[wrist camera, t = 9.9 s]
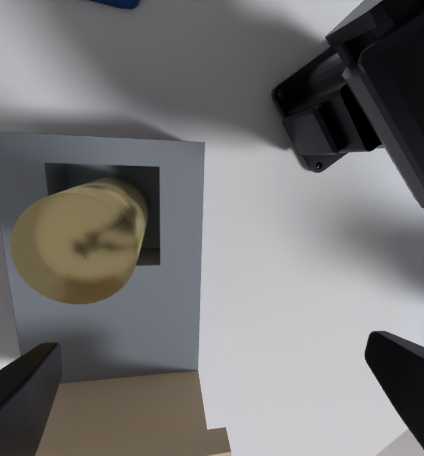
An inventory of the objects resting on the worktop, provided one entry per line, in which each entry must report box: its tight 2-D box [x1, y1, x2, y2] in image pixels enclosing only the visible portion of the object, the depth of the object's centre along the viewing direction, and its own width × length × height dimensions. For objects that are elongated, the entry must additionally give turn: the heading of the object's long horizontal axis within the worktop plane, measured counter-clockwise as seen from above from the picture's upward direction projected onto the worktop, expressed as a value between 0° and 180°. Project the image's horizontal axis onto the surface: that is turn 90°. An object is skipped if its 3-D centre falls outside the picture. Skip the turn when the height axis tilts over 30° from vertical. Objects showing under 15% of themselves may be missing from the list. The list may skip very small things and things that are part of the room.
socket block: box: [0, 132, 231, 456], centre depth 14 cm, size 16×11×10 cm
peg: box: [10, 175, 150, 304], centre depth 13 cm, size 4×4×8 cm
